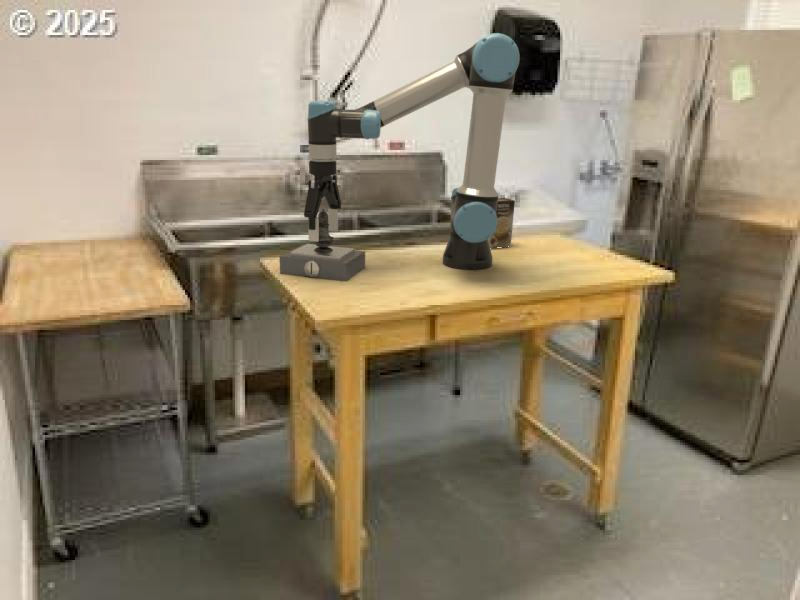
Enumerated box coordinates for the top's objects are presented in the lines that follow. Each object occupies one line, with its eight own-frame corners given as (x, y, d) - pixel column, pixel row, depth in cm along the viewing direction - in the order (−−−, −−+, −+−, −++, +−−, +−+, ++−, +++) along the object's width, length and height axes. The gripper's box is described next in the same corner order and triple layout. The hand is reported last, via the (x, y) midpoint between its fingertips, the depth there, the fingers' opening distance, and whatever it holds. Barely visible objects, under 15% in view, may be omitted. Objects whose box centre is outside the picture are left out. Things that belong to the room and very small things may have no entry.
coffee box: (488, 249, 223) (492, 201, 218) (478, 245, 228) (481, 198, 223) (511, 247, 227) (515, 200, 222) (500, 243, 232) (504, 197, 227)
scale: (365, 267, 197) (365, 248, 195) (345, 281, 183) (345, 260, 181) (303, 260, 202) (302, 241, 201) (278, 274, 188) (278, 253, 186)
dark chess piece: (335, 248, 194) (335, 207, 190) (331, 253, 188) (331, 210, 184) (315, 247, 194) (315, 206, 190) (310, 252, 188) (310, 209, 185)
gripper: (328, 154, 195) (329, 226, 202) (289, 163, 173) (292, 244, 179) (352, 156, 193) (352, 228, 200) (316, 165, 171) (317, 246, 177)
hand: (323, 236), depth 190 cm, fingers open, 13 cm apart
